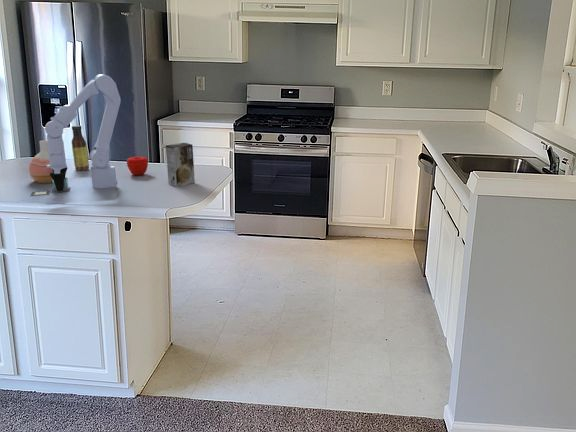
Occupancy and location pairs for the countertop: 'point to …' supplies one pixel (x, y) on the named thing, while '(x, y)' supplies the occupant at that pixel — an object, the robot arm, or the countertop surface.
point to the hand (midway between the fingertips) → (60, 188)
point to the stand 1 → (40, 193)
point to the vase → (41, 165)
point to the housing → (64, 186)
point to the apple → (137, 165)
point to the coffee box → (180, 164)
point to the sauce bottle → (79, 149)
